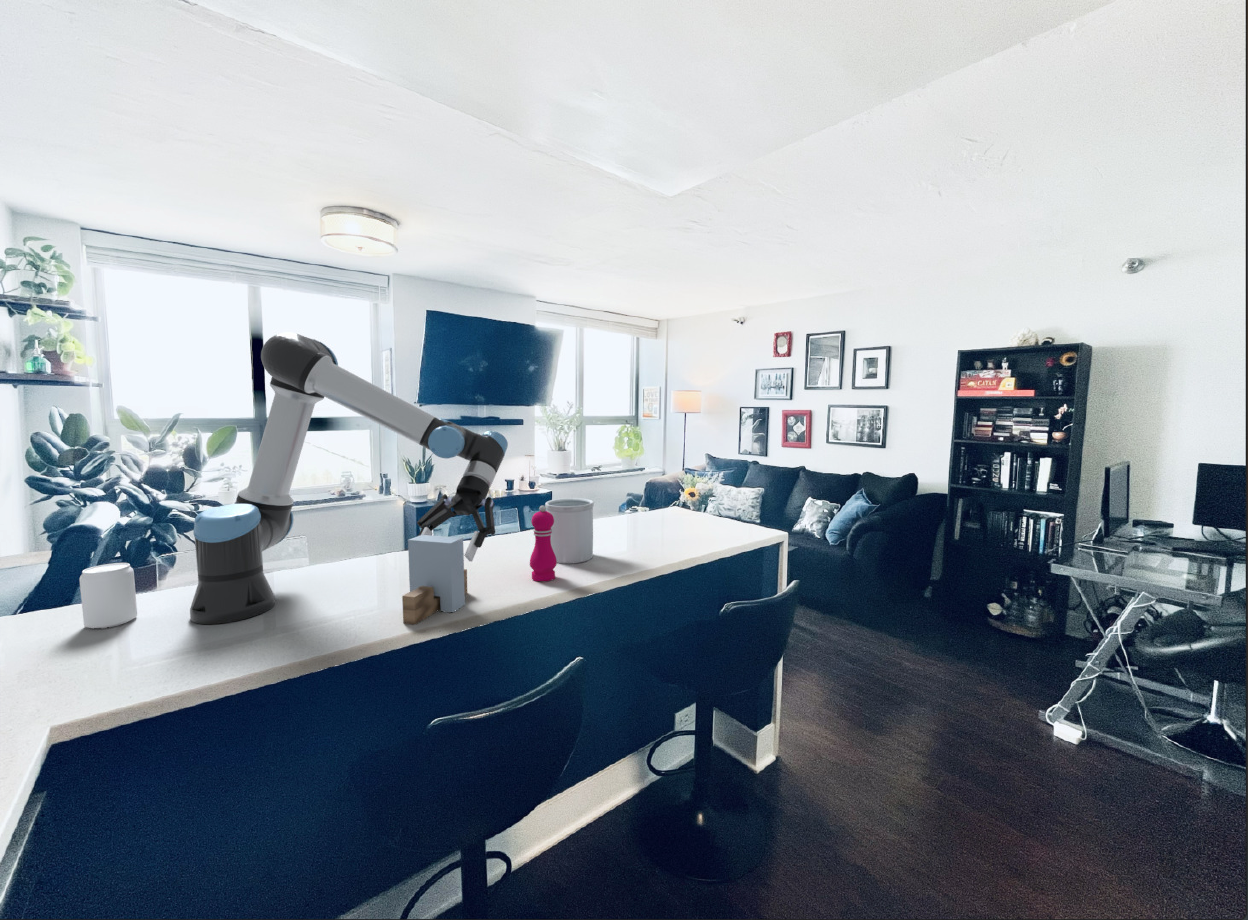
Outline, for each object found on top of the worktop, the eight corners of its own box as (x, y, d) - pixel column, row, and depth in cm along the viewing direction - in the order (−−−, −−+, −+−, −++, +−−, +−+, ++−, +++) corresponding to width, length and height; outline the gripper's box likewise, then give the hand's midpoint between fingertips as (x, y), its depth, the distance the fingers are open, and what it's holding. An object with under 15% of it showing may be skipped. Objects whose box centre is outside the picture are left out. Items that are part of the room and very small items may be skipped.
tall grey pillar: (410, 608, 119) (408, 539, 117) (424, 600, 124) (422, 534, 122) (452, 613, 116) (450, 543, 115) (464, 605, 121) (463, 537, 119)
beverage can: (145, 613, 115) (140, 560, 114) (125, 627, 108) (120, 571, 107) (98, 618, 112) (92, 564, 111) (74, 633, 105) (69, 575, 104)
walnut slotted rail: (415, 624, 110) (414, 597, 109) (403, 623, 111) (402, 595, 110) (467, 592, 129) (466, 569, 128) (456, 591, 130) (456, 568, 129)
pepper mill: (538, 584, 135) (537, 509, 134) (525, 577, 141) (524, 505, 139) (561, 578, 140) (561, 506, 138) (547, 572, 146) (547, 502, 144)
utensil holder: (544, 565, 152) (543, 506, 151) (547, 551, 167) (546, 497, 166) (594, 564, 154) (594, 505, 152) (593, 550, 168) (593, 497, 167)
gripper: (525, 494, 132) (496, 568, 119) (440, 489, 139) (404, 559, 126) (515, 475, 127) (484, 552, 114) (427, 472, 133) (388, 543, 120)
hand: (442, 556), depth 120 cm, fingers open, 13 cm apart
